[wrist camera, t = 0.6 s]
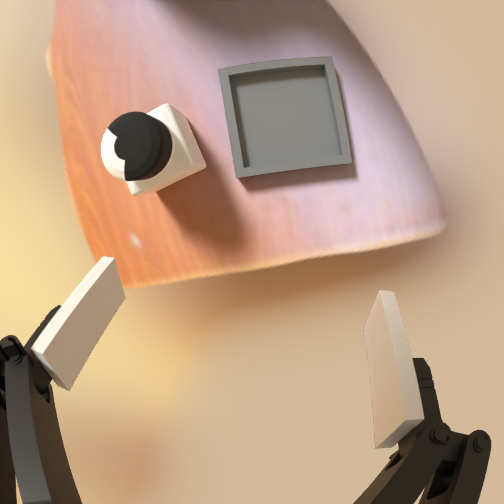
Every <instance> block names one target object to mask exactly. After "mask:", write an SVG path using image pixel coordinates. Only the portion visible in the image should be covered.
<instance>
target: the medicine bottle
mask: <svg viewBox="0 0 504 504" xmlns="http://www.w3.org/2000/svg"><path fill="white" fill-rule="evenodd" d="M101 156H102V161H103V164H104V166H105V168H106V169H107V171H108V172H109V173H110V174H111V175H112V176H114V177H115V178H117V179H120V180H123V181H126V182H127V185H128V187H129V190H130V192H131V194H132V195H133V196H136V195H141V194H146V193H151V192H156V191H159V190H161V189H163V188H165V187H167V186H169V185H171V184H173V183H175V182H177V181H179V180H181V179H183V178H185V177H187V176H190V175H192V174H194V173H196V172H198V171H200V170H203V169H205V168H206V163H205V160H204V158H203V156H202V153H201V151H200V149H199V146H198V144H197V142H196V139H195V137H194V135H193V132H192V130H191V128H190V125H189V123H188V121H187V118H186V116H185V115H184V114H182V113H181V112H179V111H178V110H177V109H175V108H174V107H172V106H171V105H170V104H167V103H166V104H164V105H162V106H160V107H158V108H156V109H154V110H152V111H150V112H149V113H147V114H146V113H143V112H129V113H126V114H123V115H121V116H120V117H118V118H117V119H115V120H114V121H113V122H112V123H111V124H110V126H109V127H108V128H107V130H106V132H105V134H104V136H103V139H102V144H101Z"/></svg>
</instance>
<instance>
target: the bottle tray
mask: <svg viewBox="0 0 504 504" xmlns="http://www.w3.org/2000/svg"><path fill="white" fill-rule="evenodd" d="M218 71H219V77H220V83H221V89H222V95H223V102H224V108H225V114H226V120H227V126H228V132H229V138H230V144H231V150H232V156H233V162H234V168H235V174H236V178H242V177H248V176H254V175H260V174H267V173H274V172H281V171H288V170H296V169H303V168H311V167H320V166H329V165H338V164H348V163H352V158H351V151H350V145H349V139H348V133H347V127H346V121H345V116H344V111H343V106H342V101H341V96H340V91H339V87H338V82H337V78H336V73H335V69H334V65H333V61H332V57H310V58H296V59H284V60H275V61H266V62H259V63H252V64H245V65H239V66H233V67H227V68H222V69H218Z"/></svg>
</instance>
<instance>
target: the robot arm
mask: <svg viewBox="0 0 504 504" xmlns="http://www.w3.org/2000/svg"><path fill="white" fill-rule="evenodd" d="M125 298H126V297H125V294H124V291H123V287H122V284H121V280H120V277H119V273H118V269H117V265H116V262H115V258H112V257H105V256H103V257H102V258H101V259H100V260H99V261H98V263H97V264H96V265H95V266H94V267H93V269H92V270H91V271H90V272H89V273H88V274H87V276H86V277H85V278H84V279H83V280H82V281H81V283H80V284H79V285H78V286H77V288H76V289H75V290H74V291H73V292H72V294H71V295H70V296H69V298H68V299H67V300H66V301H65V302H64V304H63V305H62V306H60V305H58V306H57V307H55V308H54V309H52V310H51V311H50V312H49V314H48V315H47V316H46V318H45V320H43V321H42V323H41V324H40V326H39V327H38V328H37V329H36V331H35V332H34V334H33V335H32V336H31V337H30V339H29V340H28V342H27V343H26V344H25V346H24V347H23V346H22V344H21V343H20V341H19V340H18V338H17V337H16V336H13V335H8V336H6V337H4V338H3V339H2V340H1V341H0V504H17V498H16V478H17V482H18V487H19V491H20V495H21V498H22V502H23V504H82V502H81V499H80V496H79V494H78V491H77V488H76V485H75V482H74V479H73V476H72V473H71V470H70V466H69V463H68V460H67V456H66V452H65V449H64V445H63V441H62V437H61V432H60V428H59V423H58V419H57V414H56V409H55V403H54V397H53V391H52V386H51V384H50V382H51V380H52V379H53V380H54V382H55V383H56V384H57V385H58V386H60V387H62V388H64V389H66V390H68V391H70V389H71V387H72V385H73V384H74V382H75V380H76V378H77V377H78V375H79V373H80V371H81V369H82V368H83V366H84V364H85V362H86V361H87V359H88V357H89V356H90V354H91V352H92V351H93V349H94V347H95V345H96V344H97V342H98V341H99V339H100V337H101V336H102V334H103V332H104V331H105V329H106V328H107V326H108V324H109V322H110V321H111V320H112V318H113V316H114V315H115V313H116V312H117V310H118V309H119V306H120V305H121V304H122V302H123V301H124V299H125ZM363 331H364V338H365V344H366V353H367V360H368V369H369V377H370V387H371V397H372V408H373V421H374V438H375V448H390V447H393V446H394V445H396V444H397V443H398V446H399V450H398V451H396V452H395V453H394V454H392V455H391V456H390V457H389V459H391V460H390V461H389V462H388V464H387V465H386V466H385V468H384V469H383V470H382V471H381V473H380V474H379V475H378V476H377V477H376V479H375V480H374V481H373V482H372V483H371V484H370V486H369V487H368V488H367V489H366V490H365V491H364V492H363V494H362V495H361V496H360V497H359V498H358V499H357V500H356V501H355V502H354V503H353V504H414V502H415V501H416V500H417V498H418V497H419V495H420V494H421V492H422V491H423V489H424V488H425V489H424V492H423V494H422V497H421V499H420V501H419V504H477V503H478V500H479V497H480V493H481V490H482V486H483V482H484V479H485V474H486V470H487V465H488V460H489V456H490V451H491V439H490V436H489V435H488V434H487V433H486V432H485V431H483V430H476V431H474V432H472V433H471V434H470V435H466V434H461V433H457V432H453V431H451V430H450V427H449V426H448V425H446V423H443V421H442V419H441V415H440V410H439V405H438V400H437V395H436V391H435V389H434V382H433V380H432V374H431V370H430V367H429V366H428V364H427V363H426V361H425V360H424V358H412V356H411V351H410V348H409V344H408V340H407V336H406V332H405V328H404V325H403V321H402V318H401V314H400V311H399V308H398V305H397V301H396V298H395V295H394V292H393V291H382V290H379V292H378V294H377V297H376V300H375V302H374V305H373V307H372V310H371V313H370V315H369V318H368V320H367V322H366V325H365V327H364V330H363ZM15 474H16V478H15ZM425 486H426V487H425Z"/></svg>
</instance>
